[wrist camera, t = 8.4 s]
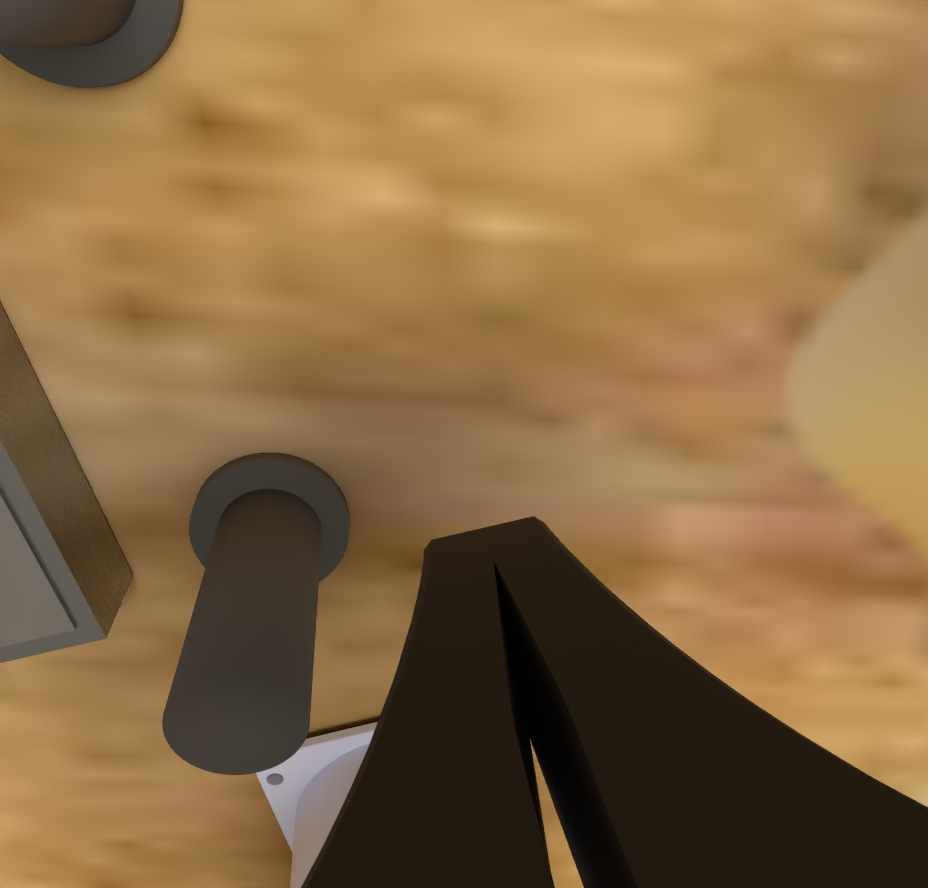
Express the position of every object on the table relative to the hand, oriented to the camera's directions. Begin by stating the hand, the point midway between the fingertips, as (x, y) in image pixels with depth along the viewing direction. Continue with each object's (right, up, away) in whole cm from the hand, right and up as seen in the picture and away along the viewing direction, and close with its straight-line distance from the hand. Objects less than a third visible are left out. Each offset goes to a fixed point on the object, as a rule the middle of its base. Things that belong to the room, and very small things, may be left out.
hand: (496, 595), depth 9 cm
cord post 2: (-5, 0, +11) cm, 12 cm away
